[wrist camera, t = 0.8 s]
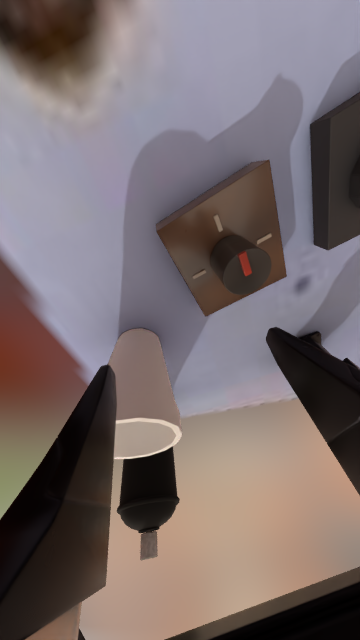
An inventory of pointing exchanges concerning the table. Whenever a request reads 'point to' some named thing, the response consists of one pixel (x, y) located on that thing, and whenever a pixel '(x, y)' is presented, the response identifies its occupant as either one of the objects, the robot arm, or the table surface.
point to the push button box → (336, 174)
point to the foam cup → (143, 397)
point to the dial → (240, 264)
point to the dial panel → (224, 232)
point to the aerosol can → (148, 496)
